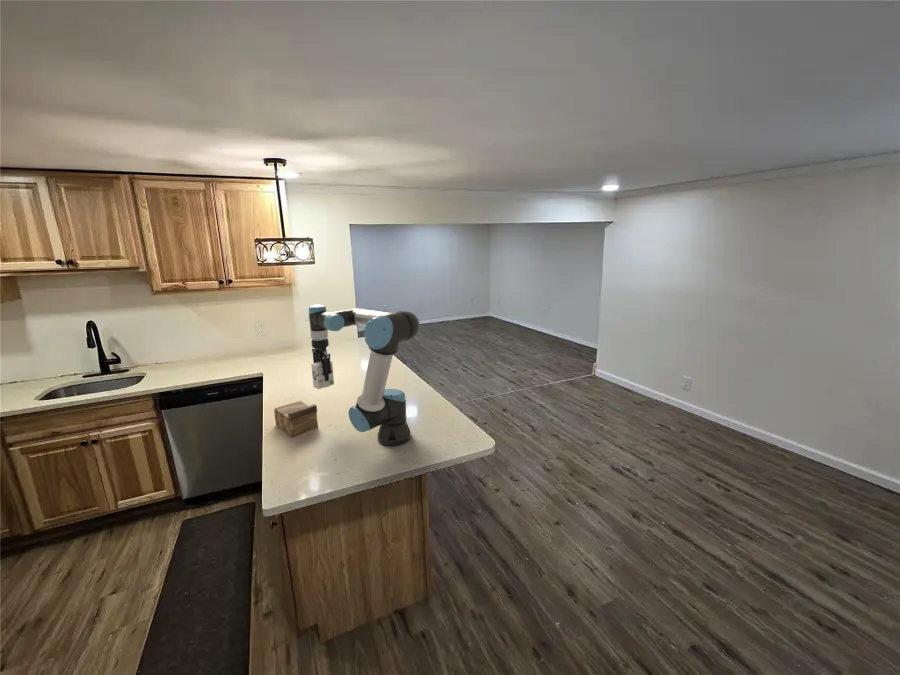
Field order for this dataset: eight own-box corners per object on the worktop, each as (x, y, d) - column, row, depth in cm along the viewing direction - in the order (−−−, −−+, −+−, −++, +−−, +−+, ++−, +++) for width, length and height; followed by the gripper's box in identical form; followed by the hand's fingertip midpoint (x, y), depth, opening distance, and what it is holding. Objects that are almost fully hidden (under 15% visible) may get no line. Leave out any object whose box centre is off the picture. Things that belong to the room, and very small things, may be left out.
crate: (318, 427, 195) (316, 412, 193) (292, 437, 186) (290, 421, 184) (301, 416, 207) (299, 402, 205) (275, 425, 198) (274, 410, 196)
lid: (317, 412, 192) (316, 405, 191) (290, 421, 183) (290, 414, 182) (300, 402, 205) (299, 395, 204) (274, 410, 196) (273, 402, 195)
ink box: (328, 381, 196) (327, 359, 193) (334, 384, 193) (332, 361, 190) (312, 386, 190) (310, 363, 187) (318, 389, 187) (316, 365, 184)
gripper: (336, 340, 182) (340, 388, 188) (318, 333, 194) (321, 378, 200) (321, 343, 177) (325, 392, 183) (303, 336, 189) (307, 382, 195)
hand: (323, 385), depth 192 cm, fingers closed on ink box, 5 cm apart
